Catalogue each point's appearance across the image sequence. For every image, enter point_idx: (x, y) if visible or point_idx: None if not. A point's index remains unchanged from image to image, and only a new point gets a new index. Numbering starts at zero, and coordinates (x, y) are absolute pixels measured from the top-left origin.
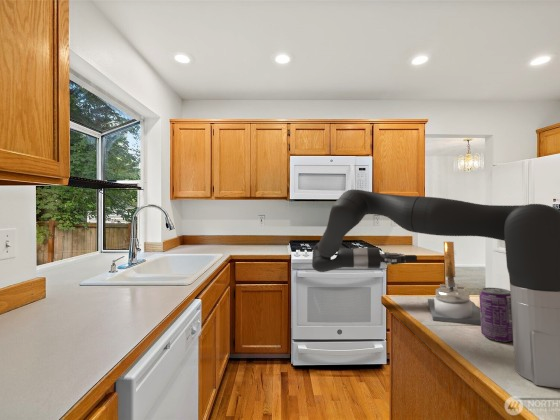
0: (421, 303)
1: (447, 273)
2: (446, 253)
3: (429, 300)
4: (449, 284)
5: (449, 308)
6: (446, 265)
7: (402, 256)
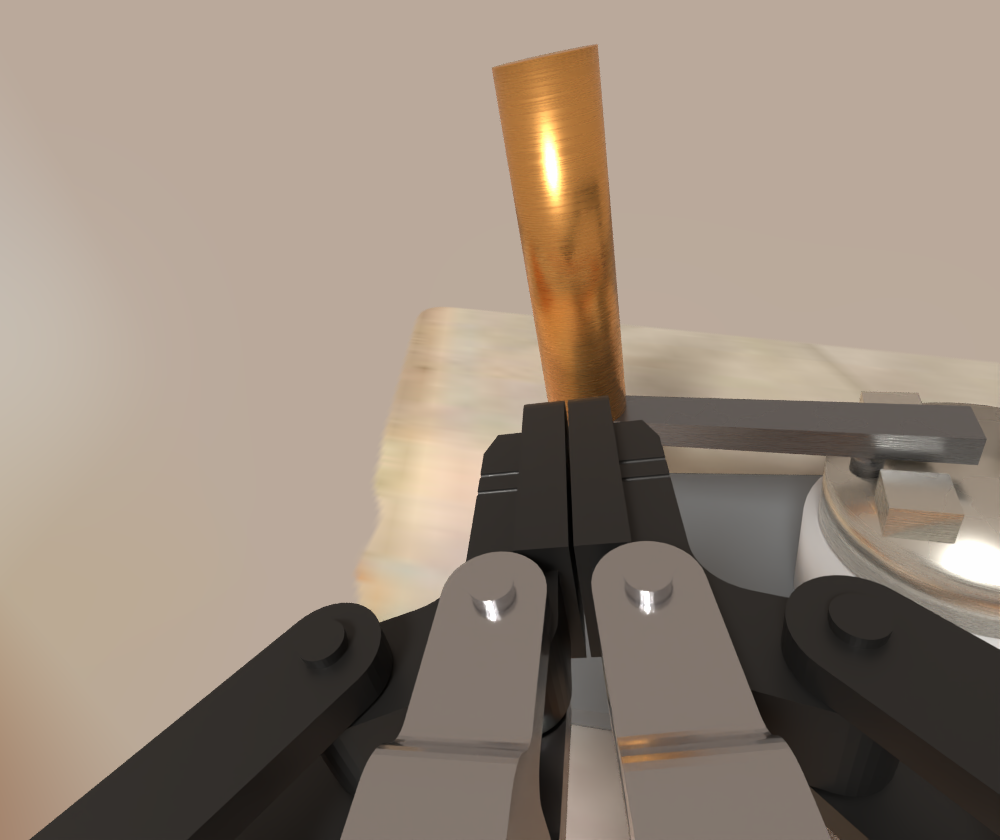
0: (588, 789)
1: (613, 395)
2: (595, 201)
3: (591, 700)
4: (980, 440)
5: None
6: (601, 330)
7: (994, 650)
